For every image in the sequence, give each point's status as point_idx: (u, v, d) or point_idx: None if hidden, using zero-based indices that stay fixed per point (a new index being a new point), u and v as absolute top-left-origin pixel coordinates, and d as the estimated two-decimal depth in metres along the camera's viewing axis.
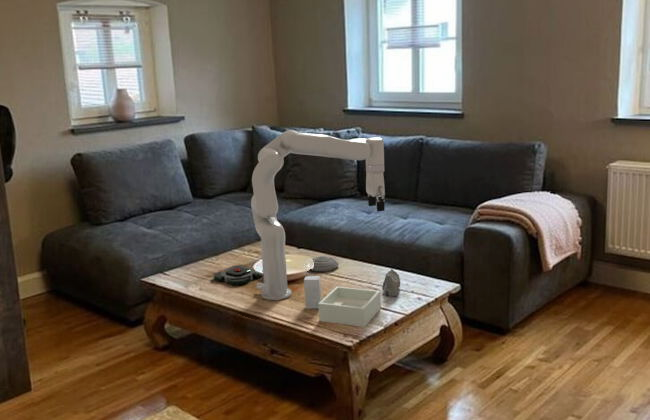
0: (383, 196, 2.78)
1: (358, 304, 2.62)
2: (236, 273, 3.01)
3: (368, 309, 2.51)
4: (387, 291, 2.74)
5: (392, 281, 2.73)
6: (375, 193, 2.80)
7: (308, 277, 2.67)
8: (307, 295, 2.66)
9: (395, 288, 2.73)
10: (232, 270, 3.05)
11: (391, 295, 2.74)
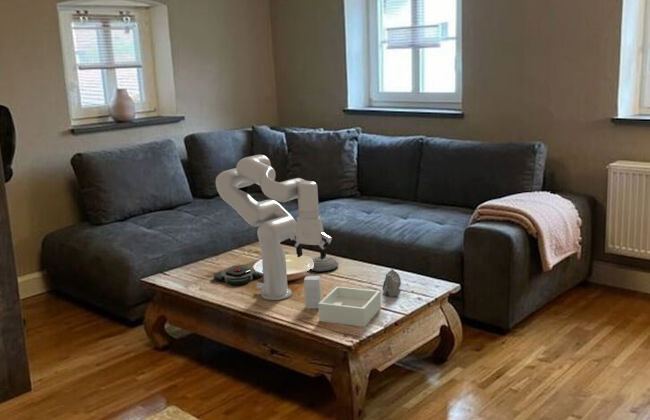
0: (330, 241, 2.59)
1: (358, 304, 2.62)
2: (236, 273, 3.01)
3: (368, 309, 2.51)
4: (387, 291, 2.74)
5: (392, 281, 2.73)
6: (320, 240, 2.58)
7: (308, 277, 2.67)
8: (307, 295, 2.66)
9: (395, 288, 2.73)
10: (232, 270, 3.05)
11: (391, 295, 2.74)
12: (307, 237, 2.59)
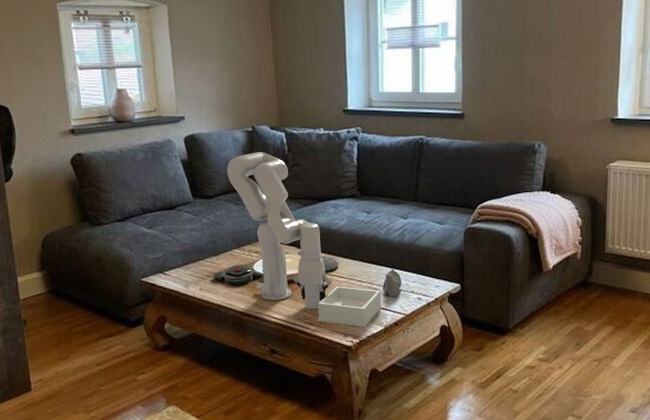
0: (329, 285, 2.64)
1: (358, 304, 2.62)
2: (236, 273, 3.01)
3: (368, 309, 2.51)
4: (387, 291, 2.74)
5: (392, 281, 2.73)
6: (322, 282, 2.62)
7: None
8: (307, 295, 2.66)
9: (395, 288, 2.73)
10: (232, 270, 3.05)
11: (391, 295, 2.74)
12: (309, 278, 2.63)
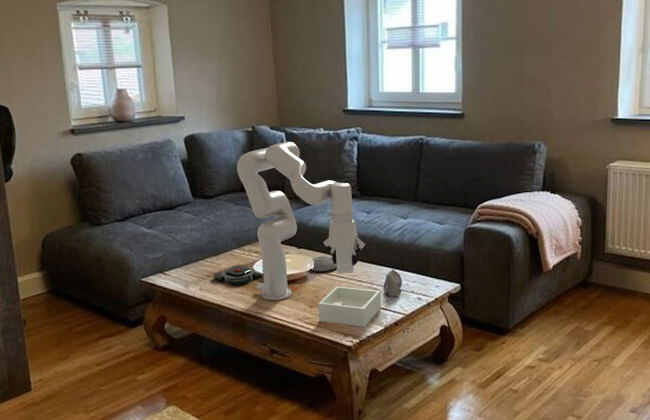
0: (362, 247, 2.51)
1: (358, 304, 2.62)
2: (236, 273, 3.01)
3: (368, 309, 2.51)
4: (387, 291, 2.74)
5: (392, 281, 2.73)
6: (354, 244, 2.50)
7: None
8: (338, 259, 2.53)
9: (395, 288, 2.73)
10: (232, 270, 3.05)
11: (391, 295, 2.74)
12: (341, 241, 2.51)
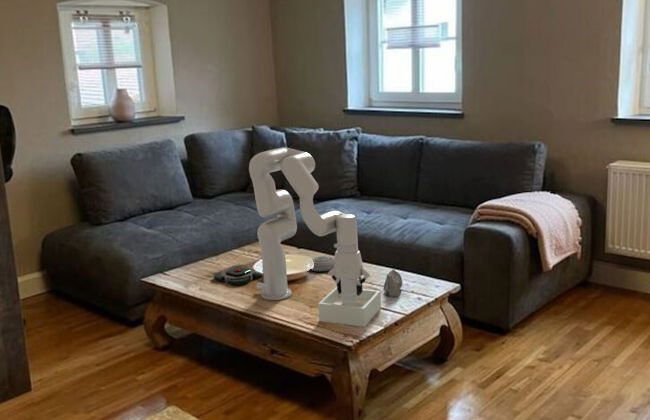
0: None
1: (358, 304, 2.62)
2: (236, 273, 3.01)
3: (368, 309, 2.51)
4: (388, 291, 2.74)
5: (393, 281, 2.73)
6: (359, 275, 2.52)
7: None
8: (343, 289, 2.55)
9: (396, 288, 2.73)
10: (232, 270, 3.05)
11: (392, 295, 2.74)
12: (346, 271, 2.53)
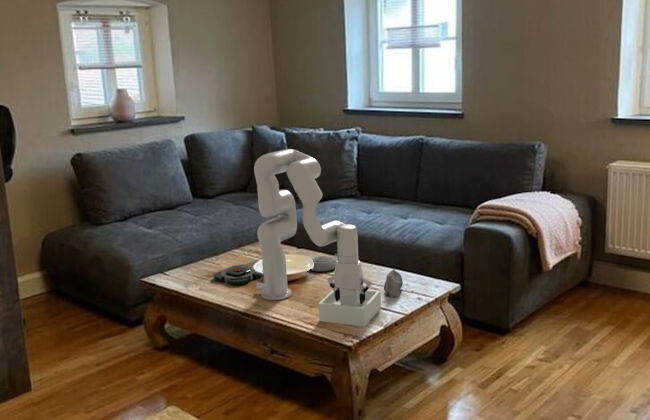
0: (369, 286, 2.54)
1: (358, 304, 2.62)
2: (236, 273, 3.01)
3: (368, 309, 2.51)
4: (388, 291, 2.74)
5: (393, 281, 2.73)
6: (359, 285, 2.53)
7: None
8: (342, 302, 2.57)
9: (396, 288, 2.73)
10: (232, 270, 3.05)
11: (392, 295, 2.74)
12: (346, 281, 2.54)
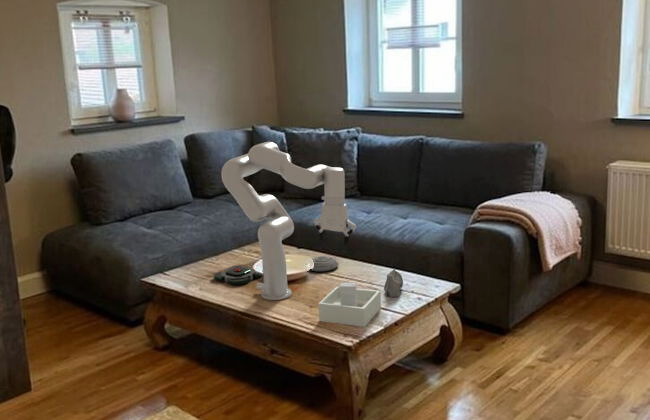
0: (354, 229, 2.59)
1: (358, 304, 2.62)
2: (236, 273, 3.01)
3: (368, 309, 2.51)
4: (388, 291, 2.74)
5: (393, 281, 2.73)
6: (344, 227, 2.58)
7: (343, 283, 2.58)
8: (342, 302, 2.57)
9: (396, 288, 2.73)
10: (232, 270, 3.05)
11: (392, 295, 2.74)
12: (332, 223, 2.59)
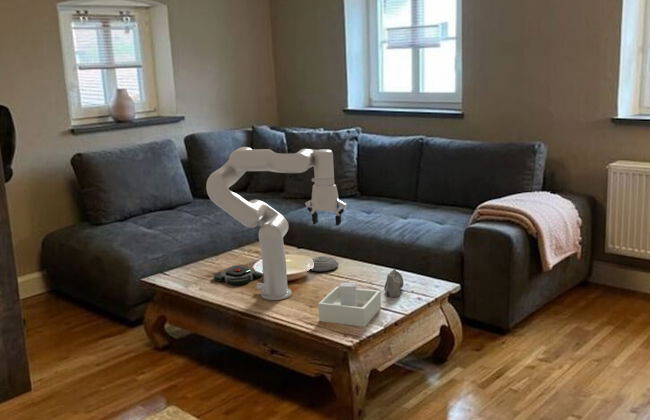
0: (345, 208, 2.66)
1: (358, 304, 2.62)
2: (236, 273, 3.01)
3: (368, 309, 2.51)
4: (388, 291, 2.74)
5: (393, 281, 2.73)
6: (335, 207, 2.65)
7: (343, 283, 2.58)
8: (342, 302, 2.57)
9: (396, 288, 2.73)
10: (232, 270, 3.05)
11: (392, 295, 2.74)
12: (323, 204, 2.66)
